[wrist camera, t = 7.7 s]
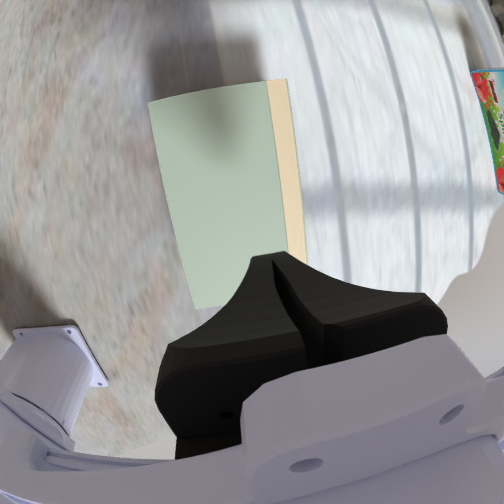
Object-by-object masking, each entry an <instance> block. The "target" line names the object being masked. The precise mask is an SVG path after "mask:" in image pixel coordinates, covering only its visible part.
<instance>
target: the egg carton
mask: <svg viewBox="0 0 504 504" xmlns="http://www.w3.org/2000/svg"><path fill="white" fill-rule="evenodd" d="M492 2H493V4H492V6H490V8H491V10H492V12H493V14H494V16H496V17H497V18H498V19H499V21H500V22H501V24H502V27H503V34H502V35H501V39H502V42H503V44H504V0H492Z"/></svg>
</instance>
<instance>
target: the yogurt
mask: <svg viewBox="0 0 504 504" xmlns="http://www.w3.org/2000/svg"><path fill="white" fill-rule="evenodd" d="M470 75H471V78H472V81H473V84H474V87H475V90H476V93H477V96H478V99H479V103H480V106H481V110H482V114H483V117H484V121H485V125H486V129H487V134H488V138H489V143H490V148H491V153H492V158H493V164H494V170H495V177H496V184H497V190H498V192H499V193H501V194H503V195H504V68H482V69H478V70H474V71H471V73H470Z"/></svg>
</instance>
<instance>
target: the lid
mask: <svg viewBox="0 0 504 504" xmlns="http://www.w3.org/2000/svg"><path fill="white" fill-rule="evenodd" d="M148 108H149V114H150V120H151V125H152V131H153V136H154V142H155V147H156V152H157V157H158V162H159V167H160V172H161V176H162V181H163V186H164V190H165V195H166V199H167V204H168V208H169V212H170V216H171V221H172V225H173V229H174V233H175V237H176V241H177V245H178V249H179V253H180V256H181V260H182V264H183V268H184V271H185V275H186V279H187V282H188V286H189V289H190V293H191V296H192V300H193V303H194V307H195V310H196V309H202V308H209V307H215V306H221V305H226V304H227V303H228V301H229V300H230V299H231V297H232V296H233V295H234V293H235V292H236V290H237V289H238V287H239V285H240V284H241V282H242V280H243V278H244V276H245V274H246V272H247V269H248V267H249V264H250V259H251V258H252V257H253V256H257V255H263V254H269V253H275V252H280V251H286V252H287V253H289V254H290V255H292V256H293V257H295V258H297V259H298V260H300V261H301V262H303V263H305V264H306V265H308V260H307V246H306V234H305V222H304V211H303V201H302V191H301V181H300V172H299V163H298V155H297V147H296V139H295V131H294V124H293V116H292V109H291V102H290V96H289V89H288V82H287V79H279V80H268V81H261V82H252V83H244V84H237V85H230V86H224V87H217V88H212V89H206V90H201V91H195V92H190V93H186V94H181V95H176V96H172V97H168V98H164V99H159V100H156V101H152V102H148Z"/></svg>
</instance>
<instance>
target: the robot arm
mask: <svg viewBox="0 0 504 504" xmlns="http://www.w3.org/2000/svg"><path fill="white" fill-rule="evenodd" d="M447 328H448V325H447V318H446V316H445V314H444V313H443V311H442V310H441V309H440V308H439V307H438V306H437V305H436V304H435V303H434V302H433V301H432V300H431V299H430V298H429V297H428V296H427V295H426V294H425V293H412V292H391V291H383V290H376V289H370V288H366V287H361V286H357V285H353V284H350V283H346V282H344V281H341V280H338V279H335V278H332V277H330V276H328V275H326V274H323V273H321V272H319V271H317V270H315V269H313V268H312V267H310V266H308V265H306V264H305V263H303V262H301V261H300V260H298V259H297V258H295V257H293V256H292V255H290V254H289V253H287V252H286V251H280V252H275V253H269V254H263V255H257V256H253V257H252V258H251V259H250V264H249V267H248V269H247V272H246V274H245V276H244V278H243V280H242V282H241V284H240V285H239V287H238V289H237V290H236V292H235V293H234V295H233V296H232V297H231V299H230V300H229V301H228V303H227V304H226V305H225V306H224V307H223V308H222V309H221V310H220V311H219V312H217V313H216V314H215V315H214V316H213V317H212V318H211V319H209V320H208V321H207V322H206V323H204V324H203V325H201V326H200V327H198V328H197V329H195V330H194V331H192V332H191V333H189V334H187V335H185V336H183V337H181V338H179V339H178V340H176V341H174V342H172V343H169V344H168V346H167V349H166V352H165V354H164V356H163V359H162V362H161V365H160V369H159V373H158V378H157V383H156V388H155V402H156V404H157V407H158V409H159V411H160V413H161V414H162V416H163V417H164V419H165V420H166V422H167V423H168V425H169V427H170V428H171V430H172V431H173V433H174V434H175V435H176V437H177V440H176V451H175V460H156V459H132V458H119V457H108V456H99V455H91V454H84V453H78V452H74V451H73V449H74V445H75V441H73V440H72V439H71V438H70V436H71V433H72V431H73V428H74V425H75V422H76V419H77V416H78V414H79V411H80V408H81V406H82V403H83V400H84V398H85V395H86V393H87V390H88V388H89V387H108V385H109V382H108V380H107V378H106V377H105V375H104V374H103V372H102V370H101V369H100V367H99V365H98V364H97V362H96V360H95V358H94V357H93V355H92V353H91V351H90V350H89V348H88V346H87V344H86V342H85V340H84V339H83V337H82V335H81V333H80V331H79V329H78V328H77V327H76V326H75V325H66V326H53V327H38V328H21V329H14V330H13V335H14V337H15V341H14V342H13V344H12V345H11V346H10V348H9V349H8V351H7V352H6V353H5V355H4V356H3V358H2V359H1V361H0V504H504V367H502V368H501V369H499V370H497V371H496V372H494V373H493V374H491V375H489V376H487V377H486V378H484V377H483V376H482V374H481V373H480V372H479V370H478V369H477V368H476V367H475V365H474V364H473V363H472V362H471V361H470V360H469V358H468V357H467V356H466V354H465V353H464V352H463V351H462V350H461V348H460V347H459V346H458V345H457V344H456V343H455V342H454V341H453V340H452V339H451V338H450V337H449V336H448V335H447ZM69 330H70V331H69Z"/></svg>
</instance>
